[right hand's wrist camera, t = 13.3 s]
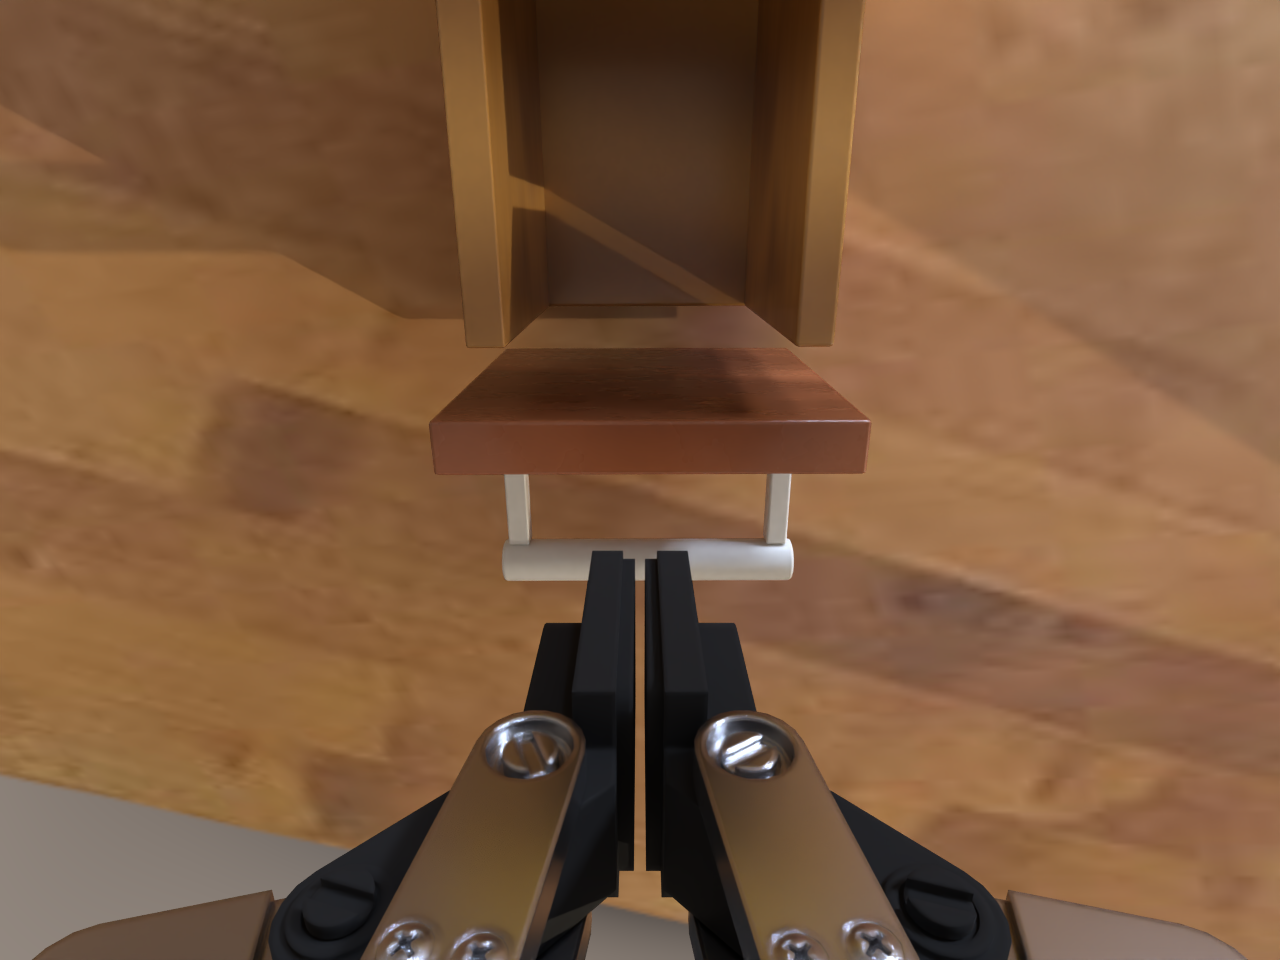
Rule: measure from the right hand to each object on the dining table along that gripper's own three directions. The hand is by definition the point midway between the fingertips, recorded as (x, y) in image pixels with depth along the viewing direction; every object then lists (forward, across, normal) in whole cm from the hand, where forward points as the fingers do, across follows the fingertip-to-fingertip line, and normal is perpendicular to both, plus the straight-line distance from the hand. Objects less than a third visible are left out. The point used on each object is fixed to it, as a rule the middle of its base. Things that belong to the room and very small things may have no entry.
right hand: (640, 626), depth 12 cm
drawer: (+12, 0, +7) cm, 14 cm away
